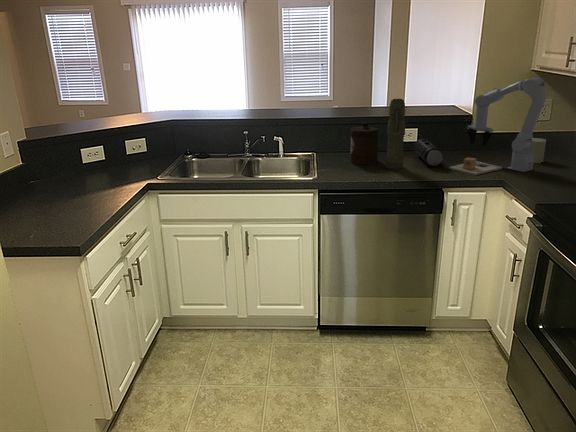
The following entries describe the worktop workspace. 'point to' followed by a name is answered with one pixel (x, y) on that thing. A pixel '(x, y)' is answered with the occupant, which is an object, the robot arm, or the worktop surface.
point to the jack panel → (477, 168)
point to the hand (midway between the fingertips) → (478, 144)
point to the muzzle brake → (428, 152)
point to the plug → (469, 164)
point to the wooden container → (364, 144)
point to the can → (538, 149)
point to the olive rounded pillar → (396, 135)
